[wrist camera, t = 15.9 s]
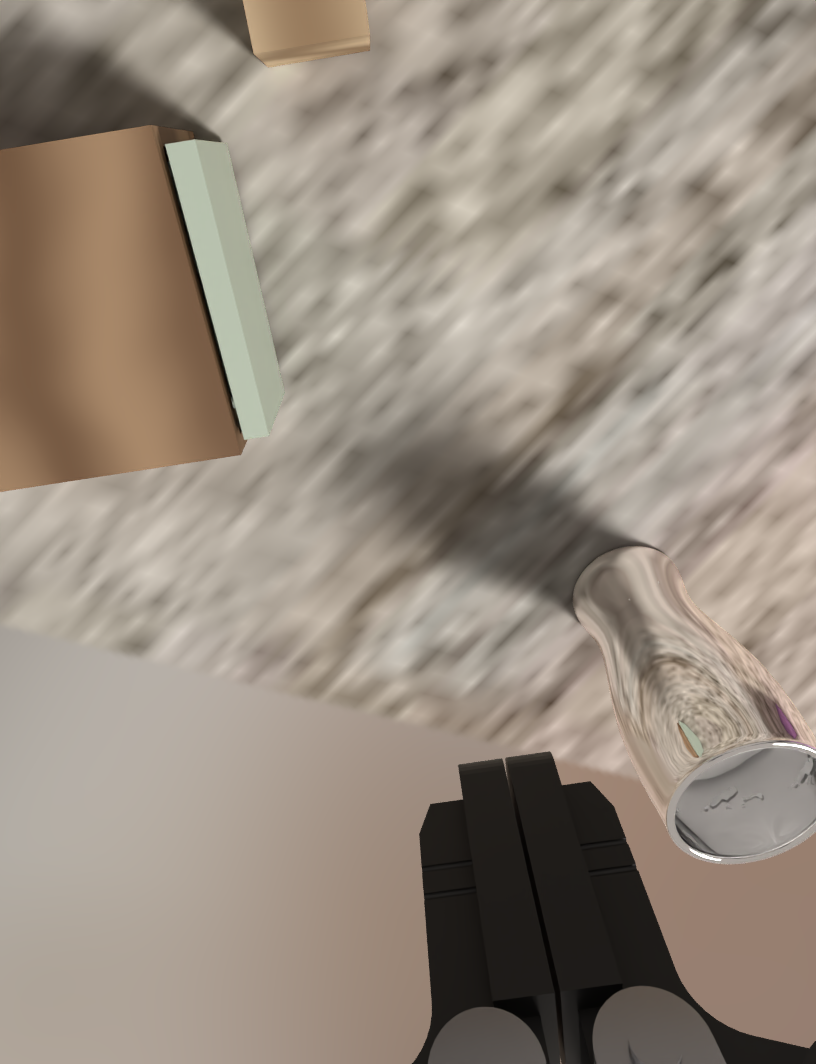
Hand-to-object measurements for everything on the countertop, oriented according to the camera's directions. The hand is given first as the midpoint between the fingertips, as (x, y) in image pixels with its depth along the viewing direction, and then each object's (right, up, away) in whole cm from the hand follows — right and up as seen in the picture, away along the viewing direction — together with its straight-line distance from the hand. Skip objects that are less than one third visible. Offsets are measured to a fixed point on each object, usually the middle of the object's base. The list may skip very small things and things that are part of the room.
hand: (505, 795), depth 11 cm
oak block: (-5, +24, +15) cm, 29 cm away
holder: (-15, +14, +20) cm, 29 cm away
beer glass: (+11, +1, +29) cm, 31 cm away
